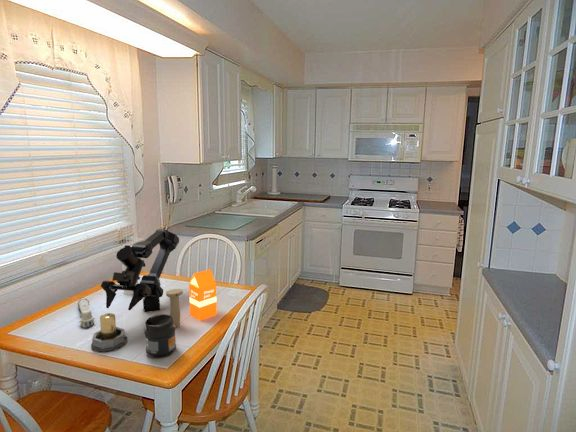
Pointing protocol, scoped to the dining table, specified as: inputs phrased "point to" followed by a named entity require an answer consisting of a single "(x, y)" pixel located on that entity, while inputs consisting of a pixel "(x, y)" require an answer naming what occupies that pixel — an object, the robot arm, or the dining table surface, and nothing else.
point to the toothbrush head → (85, 313)
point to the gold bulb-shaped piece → (108, 326)
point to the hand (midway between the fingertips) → (118, 308)
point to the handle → (175, 304)
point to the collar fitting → (108, 341)
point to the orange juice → (203, 295)
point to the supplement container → (160, 336)
